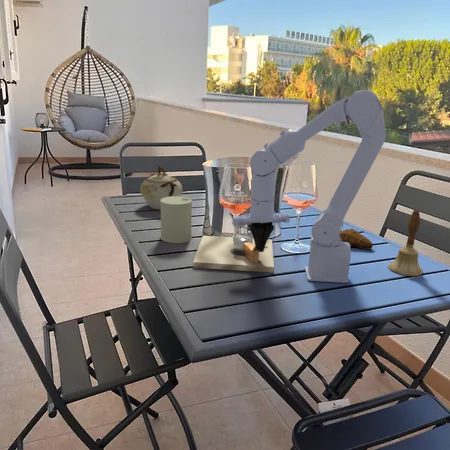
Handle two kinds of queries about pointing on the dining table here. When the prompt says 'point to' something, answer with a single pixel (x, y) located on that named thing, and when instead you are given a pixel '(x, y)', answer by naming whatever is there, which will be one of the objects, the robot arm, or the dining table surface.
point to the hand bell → (408, 251)
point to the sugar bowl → (160, 188)
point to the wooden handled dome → (246, 247)
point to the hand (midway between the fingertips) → (259, 250)
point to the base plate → (231, 256)
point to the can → (176, 219)
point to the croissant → (355, 239)
